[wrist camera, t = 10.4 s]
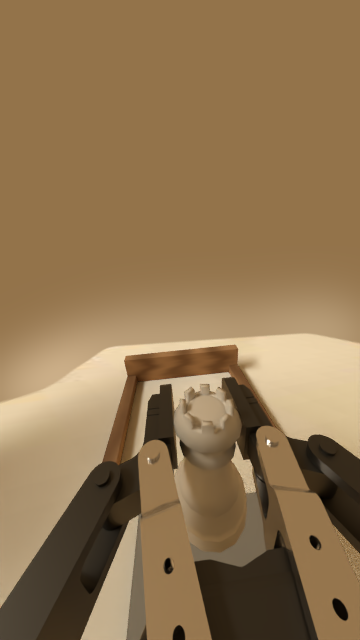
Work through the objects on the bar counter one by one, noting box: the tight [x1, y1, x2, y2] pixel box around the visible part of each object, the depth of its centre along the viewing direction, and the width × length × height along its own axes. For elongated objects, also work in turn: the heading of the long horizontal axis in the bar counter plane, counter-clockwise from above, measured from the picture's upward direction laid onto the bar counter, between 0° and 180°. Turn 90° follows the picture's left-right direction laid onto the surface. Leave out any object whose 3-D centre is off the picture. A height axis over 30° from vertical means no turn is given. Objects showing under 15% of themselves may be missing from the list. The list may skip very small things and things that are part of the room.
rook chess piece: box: [173, 384, 247, 553], centre depth 10 cm, size 4×4×8 cm
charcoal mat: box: [126, 493, 266, 640], centre depth 13 cm, size 12×10×1 cm
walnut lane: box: [102, 345, 277, 465], centre depth 27 cm, size 21×20×5 cm
